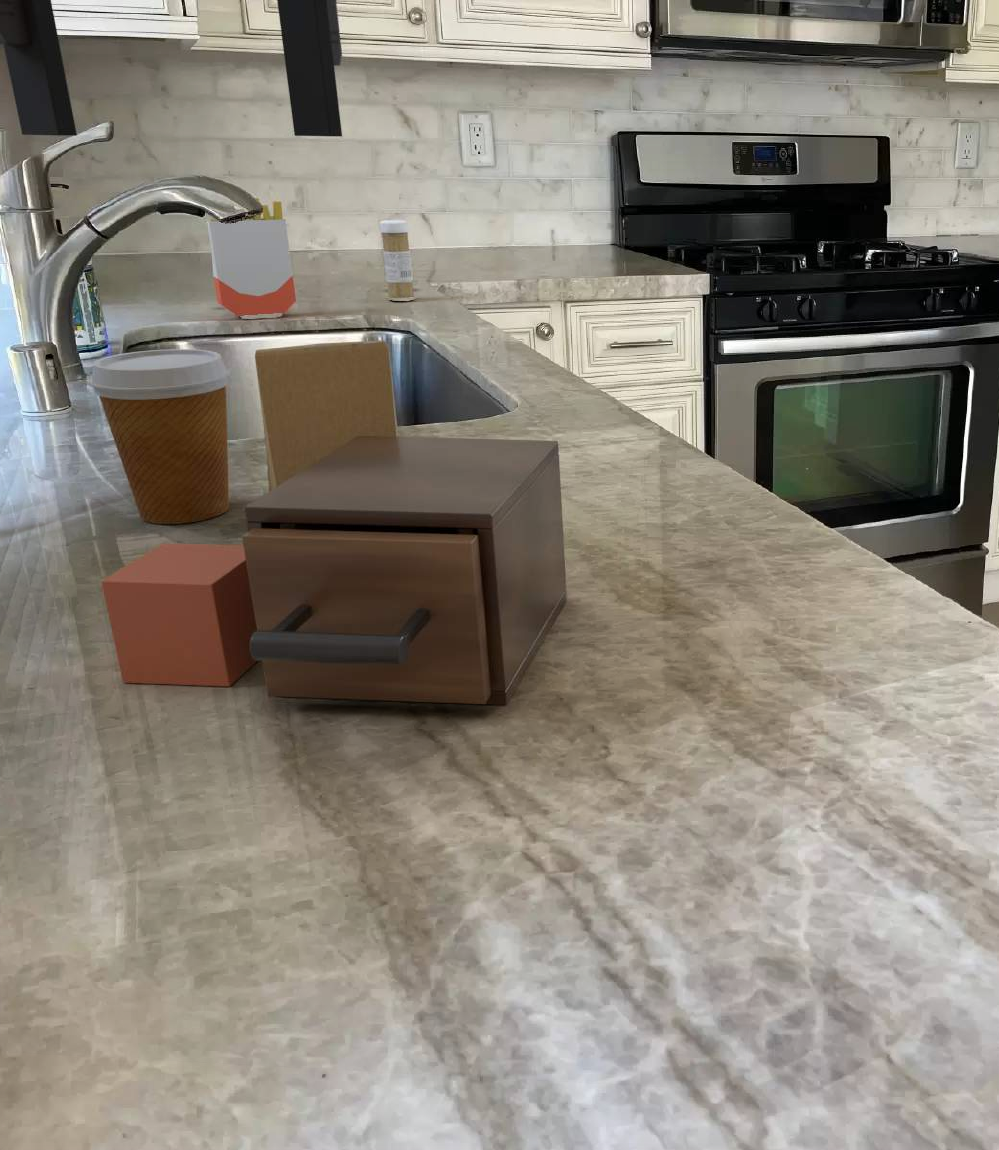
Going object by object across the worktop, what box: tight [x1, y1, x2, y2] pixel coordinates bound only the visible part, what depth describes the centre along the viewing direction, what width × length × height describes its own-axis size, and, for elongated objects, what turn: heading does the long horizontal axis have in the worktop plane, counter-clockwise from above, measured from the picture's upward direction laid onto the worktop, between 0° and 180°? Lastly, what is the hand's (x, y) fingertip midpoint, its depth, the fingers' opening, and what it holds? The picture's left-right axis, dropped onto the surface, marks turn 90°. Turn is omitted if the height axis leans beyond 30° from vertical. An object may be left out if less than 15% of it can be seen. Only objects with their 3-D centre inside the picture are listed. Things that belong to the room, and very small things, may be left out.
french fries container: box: [206, 197, 297, 317], centre depth 178 cm, size 5×11×18 cm, turn 123°
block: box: [101, 542, 259, 688], centre depth 64 cm, size 6×6×6 cm
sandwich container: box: [254, 340, 399, 492], centre depth 85 cm, size 9×15×15 cm, turn 26°
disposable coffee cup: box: [88, 348, 231, 525], centre depth 88 cm, size 10×10×12 cm
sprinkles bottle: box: [379, 219, 415, 298], centre depth 198 cm, size 5×5×14 cm
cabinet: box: [243, 436, 568, 706], centre depth 66 cm, size 15×13×11 cm
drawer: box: [241, 523, 491, 705], centre depth 61 cm, size 18×11×9 cm, turn 177°
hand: (197, 136), depth 53 cm, fingers open, 13 cm apart
